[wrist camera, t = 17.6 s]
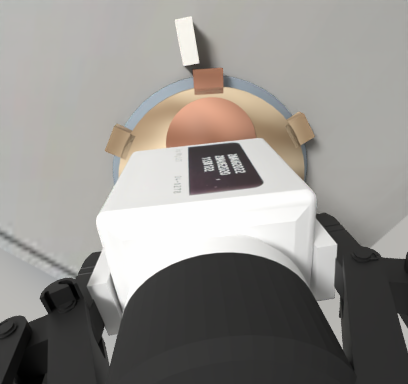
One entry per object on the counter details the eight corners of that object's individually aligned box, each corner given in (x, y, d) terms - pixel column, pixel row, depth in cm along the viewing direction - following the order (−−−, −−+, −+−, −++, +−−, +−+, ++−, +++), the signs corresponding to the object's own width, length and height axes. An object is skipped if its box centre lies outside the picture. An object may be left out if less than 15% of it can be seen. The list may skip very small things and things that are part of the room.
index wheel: (296, 255, 41) (319, 295, 34) (132, 269, 40) (121, 313, 33) (317, 62, 30) (356, 63, 23) (93, 75, 30) (65, 80, 23)
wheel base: (68, 44, 29) (56, 43, 27) (299, -2, 29) (311, -8, 26) (143, 266, 42) (141, 280, 39) (306, 236, 41) (314, 248, 39)
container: (130, 149, 16) (-8, 383, 5) (264, 135, 16) (458, 328, 5) (153, 257, 20) (106, 552, 8) (264, 245, 20) (379, 518, 8)
